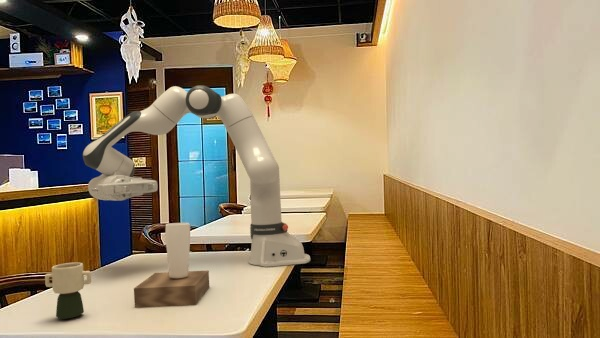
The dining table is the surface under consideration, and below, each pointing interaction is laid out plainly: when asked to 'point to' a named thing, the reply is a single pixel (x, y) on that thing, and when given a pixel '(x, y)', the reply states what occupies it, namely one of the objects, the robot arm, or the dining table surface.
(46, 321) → the dining table surface
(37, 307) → the dining table surface
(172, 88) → the robot arm
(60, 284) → the character mug
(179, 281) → the walnut riser dock
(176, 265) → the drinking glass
